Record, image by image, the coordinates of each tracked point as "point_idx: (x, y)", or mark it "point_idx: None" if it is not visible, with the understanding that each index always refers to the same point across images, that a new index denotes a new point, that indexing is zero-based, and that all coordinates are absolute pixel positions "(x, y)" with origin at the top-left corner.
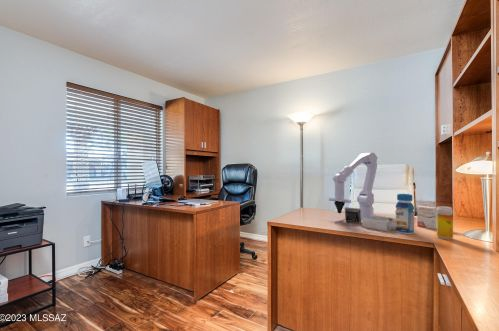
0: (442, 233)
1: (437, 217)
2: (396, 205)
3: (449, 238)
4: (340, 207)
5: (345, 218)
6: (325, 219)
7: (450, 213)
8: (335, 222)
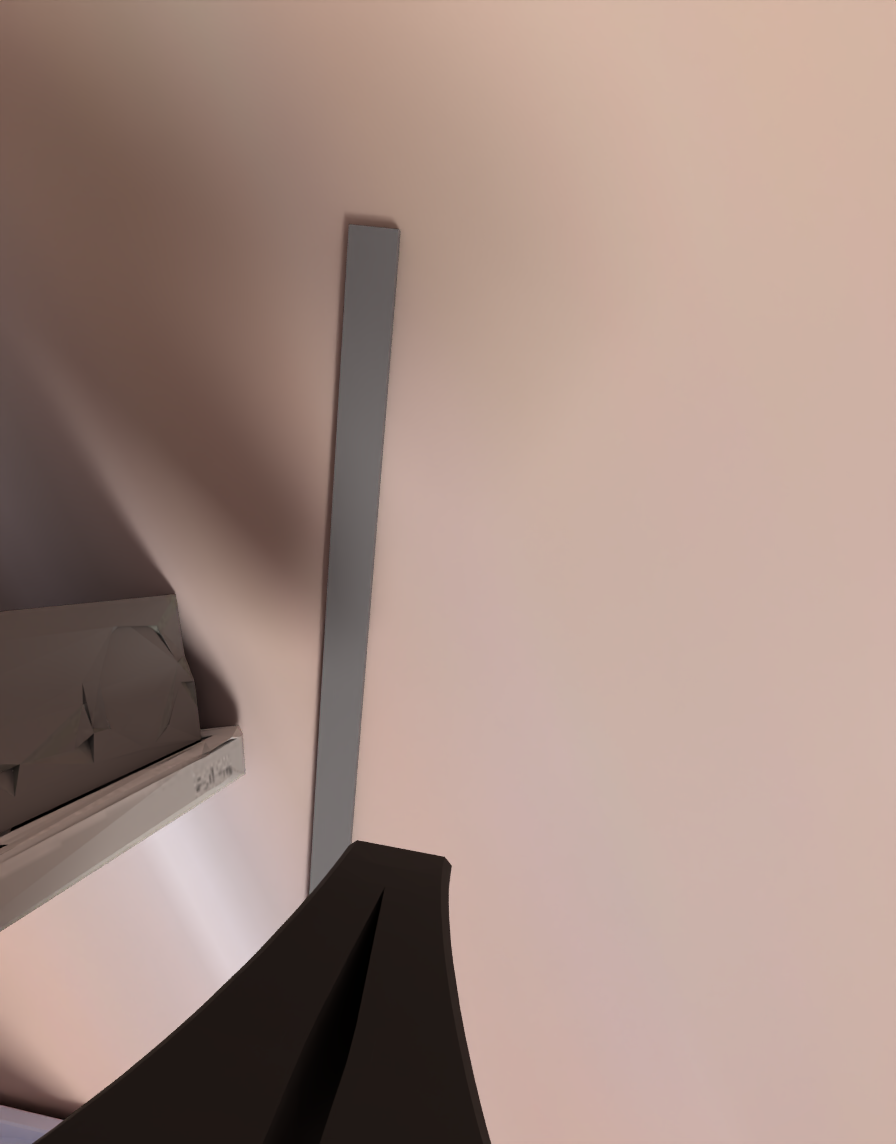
0: None
1: None
2: None
3: None
4: (122, 1083)
5: (208, 746)
6: (891, 502)
7: None
8: (360, 228)
